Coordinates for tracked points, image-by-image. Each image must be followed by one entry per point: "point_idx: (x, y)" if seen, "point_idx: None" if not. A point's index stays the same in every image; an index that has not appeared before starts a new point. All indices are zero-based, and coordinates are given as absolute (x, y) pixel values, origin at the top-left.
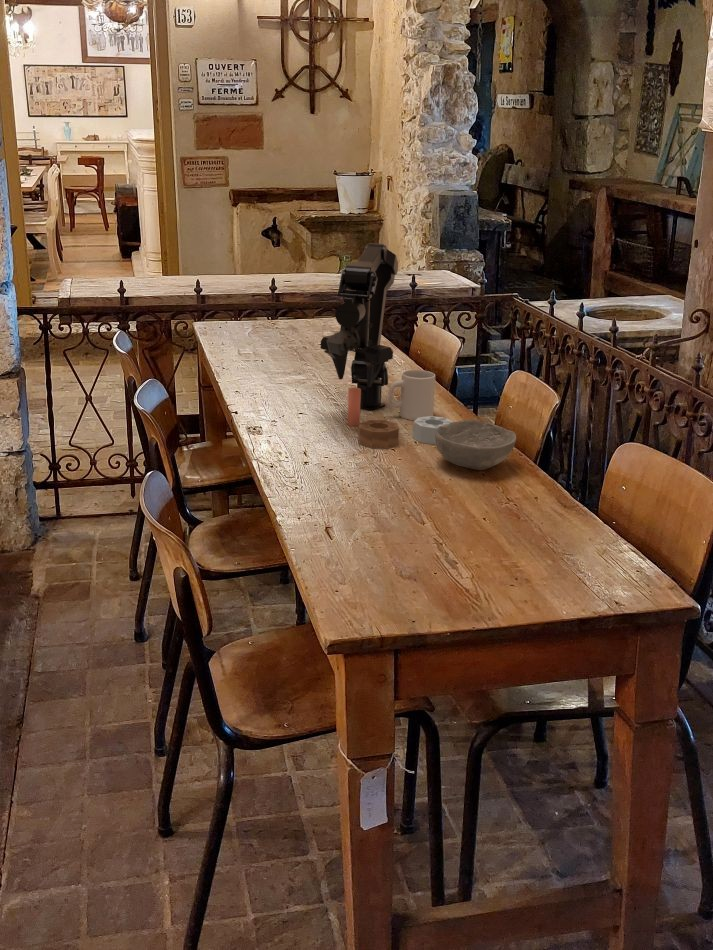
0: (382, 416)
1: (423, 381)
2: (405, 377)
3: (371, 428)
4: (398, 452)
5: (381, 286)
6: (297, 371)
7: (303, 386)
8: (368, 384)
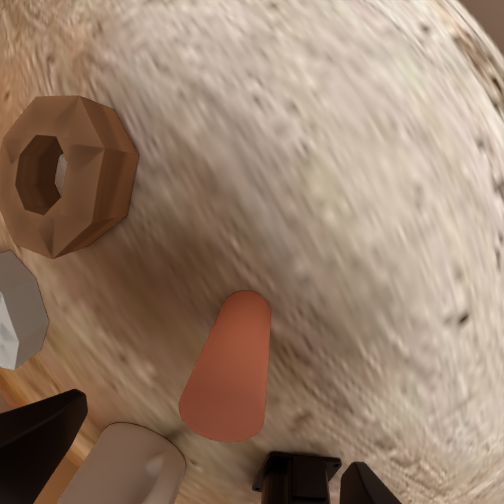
0: None
1: (60, 501)
2: None
3: (46, 123)
4: None
5: None
6: (480, 498)
7: (473, 470)
8: (62, 393)
